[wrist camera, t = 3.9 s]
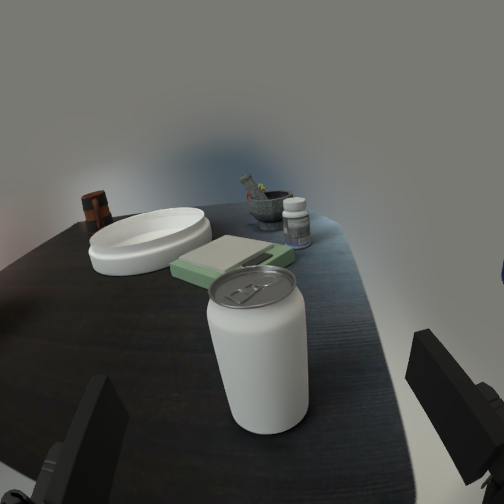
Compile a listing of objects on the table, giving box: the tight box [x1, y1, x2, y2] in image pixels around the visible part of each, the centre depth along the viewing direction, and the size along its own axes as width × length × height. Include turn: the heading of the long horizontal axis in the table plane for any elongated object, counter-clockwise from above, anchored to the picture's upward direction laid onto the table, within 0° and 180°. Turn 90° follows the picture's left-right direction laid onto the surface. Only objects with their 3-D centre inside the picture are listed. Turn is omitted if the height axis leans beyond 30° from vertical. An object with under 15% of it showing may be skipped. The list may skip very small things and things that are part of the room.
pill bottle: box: [282, 197, 311, 249], centre depth 57 cm, size 5×5×8 cm
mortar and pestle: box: [240, 173, 293, 230], centre depth 69 cm, size 11×9×12 cm
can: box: [207, 265, 308, 434], centre depth 23 cm, size 6×6×12 cm
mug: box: [81, 190, 114, 235], centre depth 87 cm, size 9×12×12 cm
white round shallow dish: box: [89, 208, 212, 276], centre depth 66 cm, size 27×27×6 cm
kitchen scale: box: [169, 235, 295, 289], centre depth 52 cm, size 15×14×3 cm
